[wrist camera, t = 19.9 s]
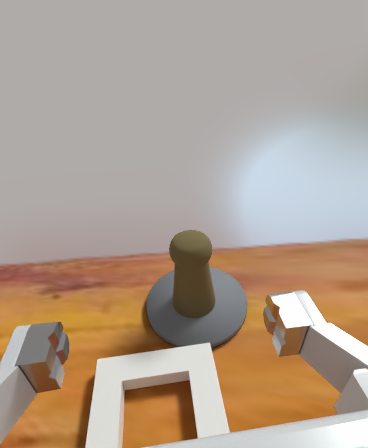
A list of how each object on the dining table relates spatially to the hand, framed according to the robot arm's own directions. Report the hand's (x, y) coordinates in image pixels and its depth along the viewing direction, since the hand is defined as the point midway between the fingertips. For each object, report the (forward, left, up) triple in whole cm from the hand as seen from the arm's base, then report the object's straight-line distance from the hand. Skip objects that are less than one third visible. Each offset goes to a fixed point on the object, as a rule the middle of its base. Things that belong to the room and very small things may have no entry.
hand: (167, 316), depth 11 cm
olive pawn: (+3, +20, -22) cm, 30 cm away
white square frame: (-3, +6, -23) cm, 24 cm away
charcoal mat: (+3, +20, -23) cm, 30 cm away
